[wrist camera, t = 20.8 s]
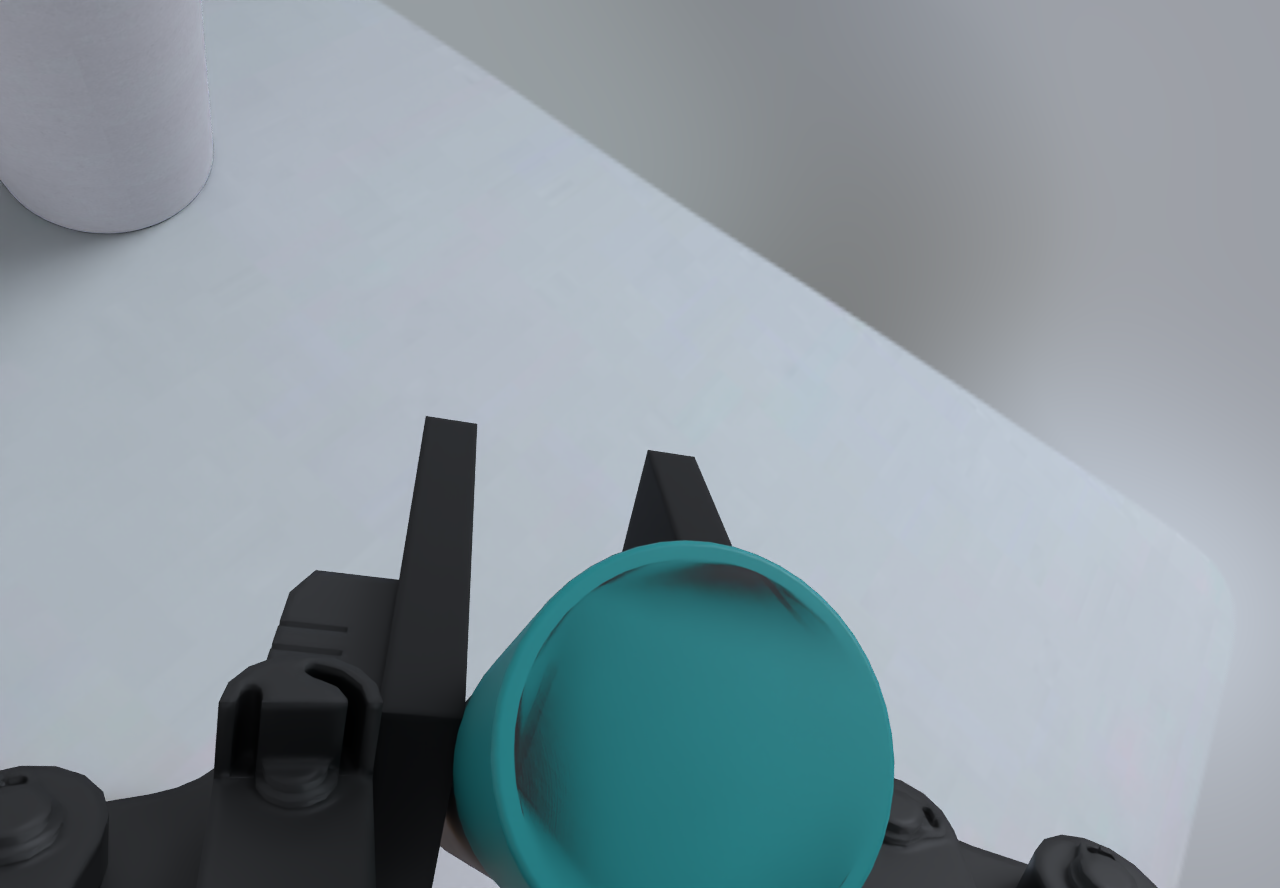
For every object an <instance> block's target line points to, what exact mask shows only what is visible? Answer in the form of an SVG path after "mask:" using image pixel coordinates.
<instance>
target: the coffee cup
mask: <svg viewBox="0 0 1280 888" xmlns="http://www.w3.org/2000/svg"><path fill="white" fill-rule="evenodd" d="M212 163H213V135H212V123H211V111H210V99H209V87H208V75H207V63H206V51H205V39H204V26H203V14H202V2H201V0H0V180H1V181H2V182H3V184H4V185H5V186H6V187H7V189H8V190H9V191H10V192H11V194H12V195H13V196H14V197H15V198H16V199H17V200H18V201H19V202H20V203H21V204H22V205H24V206H25V207H26V208H27V209H29V210H30V211H31V212H33V213H35V214H36V215H38V216H40V217H41V218H43V219H45V220H47V221H49V222H52V223H54V224H57V225H59V226H62V227H66V228H69V229H73V230H78V231H83V232H90V233H122V232H129V231H135V230H139V229H143V228H146V227H150V226H152V225H155V224H158V223H160V222H162V221H164V220H166V219H168V218H170V217H172V216H173V215H175V214H177V213H178V212H180V211H181V210H182V209H184V208H185V207H186V206H187V205H188V204H189V203H190V202H191V201H192V200H193V199H194V198H195V197H196V196H197V195H198V194H199V192H200V191H201V189H202V188H203V186H204V185H205V183H206V181H207V179H208V176H209V174H210V171H211V167H212Z"/></svg>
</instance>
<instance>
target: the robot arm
mask: <svg viewBox="0 0 1280 888" xmlns="http://www.w3.org/2000/svg"><path fill="white" fill-rule="evenodd" d="M476 439H477V424H474V423H468V422H461V421H455V420H448V419H442V418H435V417H428V416H426V419H425V425H424V431H423V437H422V443H421V449H420V456H419V462H418V468H417V474H416V480H415V486H414V492H413V498H412V505H411V511H410V517H409V523H408V529H407V535H406V541H405V547H404V553H403V560H402V566H401V572H400V578H399V580H396V579H387V578H379V577H370V576H361V575H353V574H344V573H336V572H327V571H318V570H316V571H314V572H313V573H312V574H311V575H310V576H308V577H307V578H306V579H305V580H304V581H302V582H301V583H300V584H299V585H298V586H296V587H295V588H294V589H293V590H292V591H291V592H290V593H289V596H288V599H287V602H286V605H285V608H284V610H283V613H282V616H281V619H280V624H279V626H278V628H277V631H276V634H275V637H274V640H273V643H272V648H271V649H270V651H269V654H268V657H267V660H266V661H263V662H260V663H258V664H255V665H252V666H249V667H248V668H246V669H245V670H244V671H243V672H241V673H240V674H239V675H237V676H236V677H235V678H234V679H232V680H231V681H230V682H228V685H227V687H226V689H225V691H224V693H223V695H222V697H221V699H220V701H219V707H218V721H217V735H216V750H215V764H214V769H213V770H211V771H210V772H208V773H207V774H205V775H204V776H202V777H200V778H198V779H196V780H194V781H191V782H189V783H187V784H184V785H182V786H180V787H177V788H174V789H170V790H166V791H162V792H158V793H154V794H149V795H143V796H137V797H131V798H125V799H119V800H113V801H107V802H106V801H105V797H104V793H103V791H102V790H101V789H99V788H98V787H97V786H96V785H95V784H94V783H93V782H92V781H90V780H89V779H88V778H87V777H86V776H85V775H82V774H79V773H76V772H72V771H69V770H66V769H63V768H60V767H56V766H18V767H14V768H9V769H5V770H0V888H432V884H433V879H434V874H435V868H436V863H437V858H438V853H439V848H440V843H441V838H442V832H443V827H444V822H445V817H446V812H447V807H448V802H449V796H450V791H451V786H452V781H453V763H454V750H455V745H456V739H457V734H458V730H459V727H460V724H461V722H462V719H463V715H464V711H465V696H466V673H467V649H468V626H469V602H470V579H471V556H472V532H473V509H474V486H475V462H476ZM683 540H687V541H702V542H712V543H717V544H722V545H727V546H732V545H731V542H730V540H729V538H728V535H727V533H726V531H725V528H724V526H723V523H722V521H721V519H720V516H719V514H718V512H717V509H716V507H715V505H714V502H713V500H712V497H711V495H710V493H709V490H708V488H707V486H706V483H705V481H704V479H703V476H702V474H701V471H700V469H699V467H698V464H697V462H696V460H695V457H691V456H684V455H678V454H671V453H665V452H658V451H651V450H648V452H647V456H646V460H645V464H644V468H643V472H642V476H641V480H640V483H639V487H638V491H637V495H636V499H635V503H634V507H633V511H632V515H631V519H630V523H629V527H628V531H627V535H626V539H625V543H624V547H623V551H626V550H629V549H632V548H635V547H639V546H643V545H648V544H653V543H658V542H668V541H683ZM623 551H622V552H623ZM862 888H1157V887H1156V885H1155V884H1154V883H1152V882H1151V881H1150V880H1149V879H1148V878H1147V877H1146V876H1145V875H1144V874H1143V873H1142V872H1141V871H1140V870H1139V869H1138V868H1137V867H1136V866H1135V865H1134V864H1132V863H1131V862H1129V861H1128V860H1126V859H1125V858H1123V857H1121V856H1120V855H1118V854H1117V853H1115V852H1114V851H1112V850H1111V849H1109V848H1107V847H1104V846H1102V845H1099V844H1097V843H1095V842H1092V841H1090V840H1087V839H1085V838H1080V837H1073V836H1066V835H1059V836H1055V837H1051V838H1047V839H1044V840H1043V841H1042V843H1041V844H1040V845H1039V847H1038V848H1037V849H1036V850H1035V852H1034V854H1033V856H1032V858H1031V860H1030V862H1029V864H1025V863H1022V862H1019V861H1016V860H1013V859H1010V858H1007V857H1004V856H1001V855H998V854H995V853H992V852H989V851H986V850H983V849H980V848H977V847H974V846H971V845H969V844H966V843H964V842H961V841H959V840H958V839H957V837H956V834H955V832H954V830H953V828H952V826H951V825H950V823H949V821H948V820H947V818H946V817H945V815H944V813H943V812H942V810H940V809H939V808H938V807H937V806H936V805H935V804H934V803H933V802H932V801H931V800H930V799H929V798H928V797H927V796H925V795H924V794H923V793H922V792H920V791H918V790H916V789H915V788H913V787H911V786H909V785H908V784H906V783H904V782H903V781H901V780H898V779H895V778H894V789H893V796H892V803H891V810H890V817H889V821H888V825H887V828H886V832H885V836H884V840H883V843H882V846H881V848H880V851H879V853H878V856H877V858H876V861H875V863H874V866H873V868H872V870H871V872H870V874H869V876H868V877H867V879H866V881H865V883H864V885H863V886H862Z"/></svg>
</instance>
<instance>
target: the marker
mask: <svg viewBox="0 0 1280 888" xmlns="http://www.w3.org/2000/svg"><path fill="white" fill-rule="evenodd" d="M893 789H894V753H893V742H892V733H891V728H890V723H889V718H888V713H887V708H886V705H885V702H884V698H883V695H882V692H881V689H880V686H879V683H878V680H877V678H876V676H875V674H874V671H873V669H872V667H871V665H870V663H869V660H868V658H867V656H866V655H865V653H864V651H863V650H862V648H861V646H860V644H859V643H858V641H857V639H856V638H855V636H854V635H853V633H852V632H851V631H850V629H849V628H848V627H847V625H846V624H845V623H844V621H843V620H842V619H841V617H840V616H839V615H838V614H837V612H836V611H835V610H834V609H833V608H832V607H831V606H830V605H829V604H828V603H827V602H826V601H825V600H824V599H823V598H822V597H821V596H820V595H819V594H818V593H817V592H815V591H814V590H813V589H812V588H811V587H809V586H808V585H807V584H806V583H805V582H803V581H802V580H801V579H799V578H798V577H796V576H795V575H793V574H792V573H790V572H789V571H787V570H785V569H784V568H782V567H781V566H779V565H777V564H775V563H773V562H771V561H769V560H767V559H765V558H763V557H761V556H759V555H756V554H753V553H750V552H747V551H744V550H742V549H739V548H736V547H732V546H727V545H722V544H717V543H712V542H702V541H687V540H683V541H668V542H658V543H653V544H648V545H643V546H639V547H635V548H632V549H629V550H626V551H623V552H621V553H618V554H615V555H612V556H610V557H608V558H606V559H604V560H603V561H601V562H599V563H597V564H595V565H593V566H591V567H589V568H588V569H586V570H585V571H583V572H582V573H581V574H579V575H578V576H576V577H575V578H573V579H572V580H571V581H569V582H568V583H567V584H566V585H565V586H564V587H563V588H562V589H560V590H559V591H558V592H557V593H556V594H555V595H554V596H553V597H552V598H551V599H550V600H549V601H548V602H547V603H546V604H545V605H544V606H543V608H542V609H541V610H540V611H539V612H538V613H537V614H536V616H535V617H534V618H533V619H532V620H531V621H530V622H529V624H528V625H527V626H526V627H525V628H524V629H523V630H522V632H521V633H520V634H519V635H518V636H517V637H516V639H515V640H514V641H513V642H512V643H511V644H510V645H509V647H508V648H507V649H506V650H505V651H504V652H503V653H502V655H501V656H500V657H499V658H498V659H497V660H496V662H495V663H494V664H493V665H492V666H491V668H490V669H489V670H488V671H487V672H486V674H485V675H484V676H483V678H482V679H481V681H480V682H479V684H478V686H477V687H476V689H475V690H474V692H473V694H472V695H471V696H470V698H469V699H468V700H467V701H466V702H465V711H464V715H463V719H462V722H461V724H460V727H459V730H458V734H457V739H456V745H455V750H454V763H453V781H452V786H451V791H450V796H449V802H448V807H447V812H446V817H445V822H444V827H443V832H442V838H441V843H440V846H441V847H442V848H443V849H444V850H446V851H447V852H449V853H450V854H452V855H453V856H455V857H457V858H458V859H460V860H462V861H463V862H465V863H467V864H468V865H470V866H471V867H473V868H475V869H476V870H478V871H480V872H481V873H483V874H485V875H486V876H488V877H489V878H491V879H493V880H494V881H495V882H496V883H497V885H498V886H499V887H500V888H862V886H863V885H864V883H865V881H866V879H867V877H868V876H869V874H870V872H871V870H872V868H873V866H874V863H875V861H876V858H877V856H878V853H879V851H880V848H881V846H882V843H883V840H884V836H885V832H886V828H887V825H888V821H889V817H890V810H891V803H892V796H893Z"/></svg>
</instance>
